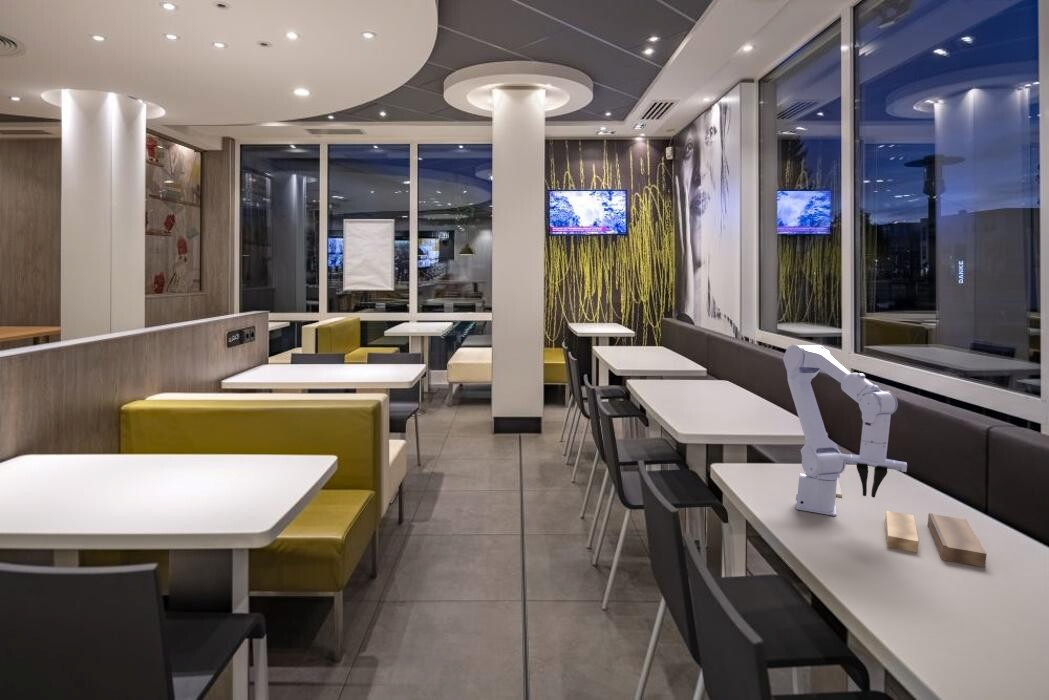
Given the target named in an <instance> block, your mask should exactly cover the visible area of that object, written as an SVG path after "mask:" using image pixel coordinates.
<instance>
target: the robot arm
mask: <svg viewBox="0 0 1049 700" xmlns="http://www.w3.org/2000/svg"><path fill="white" fill-rule="evenodd" d="M782 361H783V364H784V366H785V369H786V370H785V371H786V374H787V377H786V378H787V383H788V386H789V389H790V390H789V391H790V393H791V396H792V399H793V402H794V406H795V409H796V413H797V416H798V419H799V422H800V425H801V426H800V427H801V429H802V432H803V436H804V438H805V444H804V445H803V446H802V448H801V449H800V453H801V467H802V470H803V471H804V473H801V472H800V473H799V476H798V485H797V493H795V495H796V496H795V501H796V508H795V509H796V510H798V511H799V510H800V511H803V512H804V511H805V512H811V513H816V514H817V513H818V514H823V515H829V516H834V517H835V516H837V506H836V498H837V497H836V488H837V478H838V479H839V478H840V475H841V474H842V473H844V472H845V469H846V467H847V466H846V465H847V464H851V465H856V469H857V470H856V471H857V473H858V475H859V478H860V481H861V486H862V496H863V497H867V493H868V492H867V491H868V490H867V488H868V487H867V485H868V484H867V483H868V477H869V467H872V468H874V470H873V471H874V472H873V482H872V487H871V498H876V495H877V491H878V489H879V487H880V485H881V484H882V482H883V480H884V478H885V477H886V476H887V474H888V470H892V471H901V472H902V473H904V472H905V473H907V469H908V464H907V463H908V462H906V461H899V460H895V459H889V458H887V452H888V445H889V444H888V443H889V437H890V436H889V434H890V427H891V426H890V425H891V417H892V416H891V415H893V414H895V412H896V411H897V409H898V406H899V405H898V399H897V397H896V395H895V394H893V392H892V391H890V390H882V389H880V387H879V386H878V385H877V384H874V383H872V382H871V381H870V380H869V379H868V378H866V375H865V374H864V373H862V372H861V373H860V372H859V373H858V372H850V371H849V370H848V369H847V368H846V367H844V365H843V364H842V363H840V362H839V361H838V360H837V359H835V357H833V355H831V352H830V350H829V349H827V348H825V347H824V346H823V345H821V344H815V345H811V344H810V345H802V344H801V345H798V344H791V345H789V346H788V347H787V348H786V350H785V352H784V355H783V357H782ZM820 371H823V372H825V374H827V375H828V376H830V377H832V378H833V379H834V380H836V381H837V382H838V383H840V387H841V388H840V389H841V390H842V392H844V393H845V394H847V396H849V397H850V398H851V399H852V400H854V401H855V402H856V403H857V404H858V407H859V409H860V412H861V419H862V426H861V427H862V428H861V439H860V447H859V448H860V449H859V454H850V453H849V454H848V453H842V452H841V450H840V448H839V445H838V444H837V443H836V442H834V441H833V440H832V439H830V438H829V437H828V434H827V430H826V428H825V424H824V420H823V419H822V418H823V417H822V415H821V412H820V409H819V405H818V402H817V399H816V396H815V392H814V389H813V387H812V384H811V382H812V380H813V378H815V377H816V376H817V375H818V374H819V372H820Z"/></svg>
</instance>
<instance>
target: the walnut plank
mask: <svg viewBox="0 0 1049 700" xmlns="http://www.w3.org/2000/svg"><path fill="white" fill-rule="evenodd" d="M927 518H928V519H927V528H928V529H929V533H930V535H931V537H932V539H933V542H934V545H935V547H936V549H937V551H938V554H939V557H940V559H941V560H944V561H950V562H953V563H958V564H959V563H960V564H964V565H970V566H976V567H981V568H986V562H987V561H986V560H987V552H986V550H985V549H984V546H983V545H982V544H981V542H980V540H979V539H978V537H977V535H976V534H975V532H974V530H973V528H972V526H971V525H970V523H969V521H968V520H967V519H966V518H959V517H952V516H946V515H941V514H940V515H939V514H934V513H931V512H928V517H927Z"/></svg>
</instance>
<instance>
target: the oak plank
mask: <svg viewBox="0 0 1049 700" xmlns="http://www.w3.org/2000/svg"><path fill="white" fill-rule="evenodd" d="M884 521H885V523H884V524H885V537H886V539H885V540H886V547H887V548H893V549H897V550H898V549H899V550H903V551H908V552H914V553H918V548H919V537H918V532H917V527H916V522H915V517H914V514H907V513H903V512H902V513H901V512H897V511H889V510H885V518H884Z"/></svg>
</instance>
